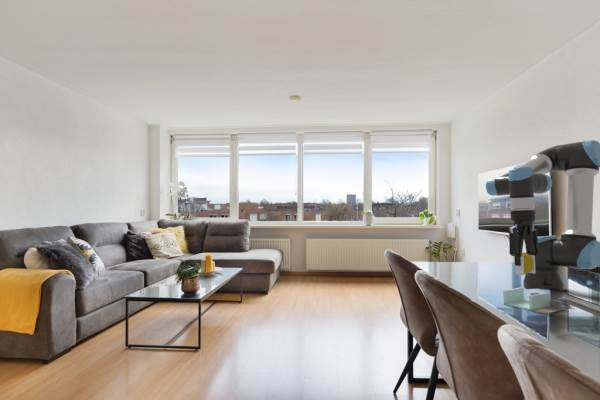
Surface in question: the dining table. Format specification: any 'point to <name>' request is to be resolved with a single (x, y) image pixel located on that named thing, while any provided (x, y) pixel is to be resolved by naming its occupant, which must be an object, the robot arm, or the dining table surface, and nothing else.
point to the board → (547, 310)
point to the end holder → (534, 303)
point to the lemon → (527, 263)
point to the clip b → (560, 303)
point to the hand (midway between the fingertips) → (525, 273)
